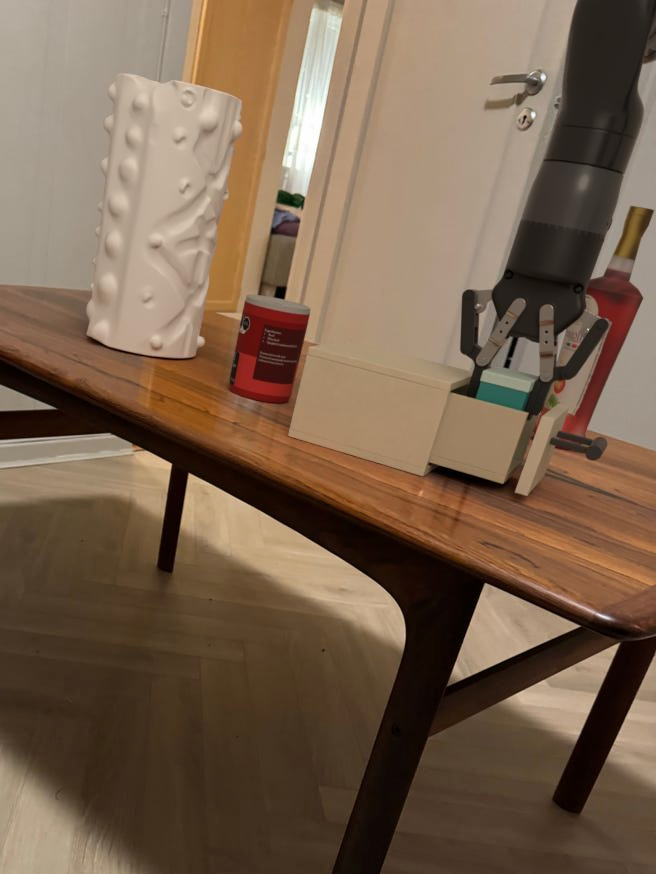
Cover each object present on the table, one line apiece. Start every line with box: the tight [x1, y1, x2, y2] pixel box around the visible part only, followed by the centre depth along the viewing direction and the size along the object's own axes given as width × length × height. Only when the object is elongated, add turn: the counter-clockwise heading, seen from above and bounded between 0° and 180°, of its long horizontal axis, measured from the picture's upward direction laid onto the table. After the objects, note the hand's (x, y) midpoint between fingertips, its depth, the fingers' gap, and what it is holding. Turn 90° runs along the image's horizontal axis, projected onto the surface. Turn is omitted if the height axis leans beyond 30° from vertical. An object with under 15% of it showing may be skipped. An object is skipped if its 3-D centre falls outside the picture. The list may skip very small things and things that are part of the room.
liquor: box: [533, 205, 655, 451], centre depth 111 cm, size 7×7×28 cm
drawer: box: [429, 384, 608, 497], centre depth 90 cm, size 18×11×7 cm, turn 61°
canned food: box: [228, 294, 311, 404], centre depth 109 cm, size 8×8×11 cm
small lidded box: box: [475, 365, 539, 411], centre depth 88 cm, size 5×7×4 cm
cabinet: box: [287, 340, 473, 477], centre depth 94 cm, size 15×13×9 cm
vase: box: [85, 72, 243, 359], centre depth 120 cm, size 17×16×32 cm
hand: (501, 411), depth 89 cm, fingers closed on small lidded box, 4 cm apart
